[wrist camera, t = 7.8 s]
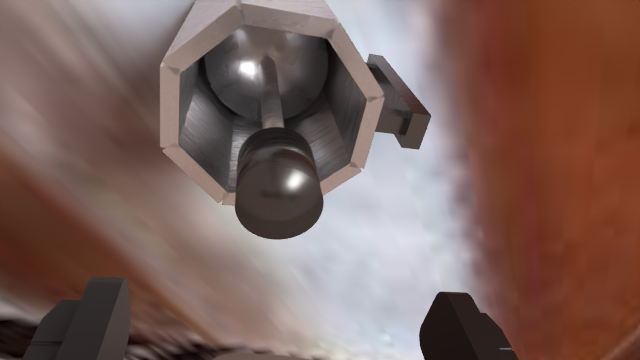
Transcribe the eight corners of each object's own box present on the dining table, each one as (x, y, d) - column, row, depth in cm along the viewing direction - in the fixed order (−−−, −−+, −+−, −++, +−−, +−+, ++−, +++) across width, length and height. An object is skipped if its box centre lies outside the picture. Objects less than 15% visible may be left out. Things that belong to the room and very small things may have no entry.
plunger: (210, -13, 24) (162, 84, 12) (337, 10, 26) (417, 118, 13) (203, 108, 28) (162, 279, 16) (314, 122, 30) (359, 288, 17)
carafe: (198, -50, 28) (159, -13, 16) (387, -12, 31) (468, 43, 19) (192, 93, 33) (160, 199, 21) (354, 115, 36) (402, 218, 24)
